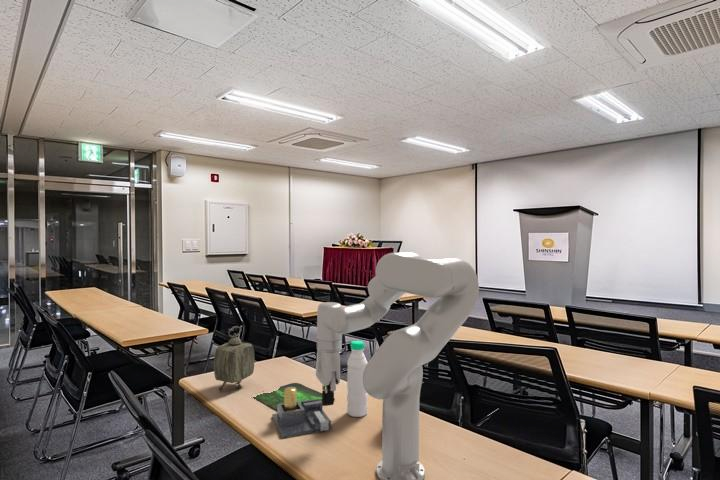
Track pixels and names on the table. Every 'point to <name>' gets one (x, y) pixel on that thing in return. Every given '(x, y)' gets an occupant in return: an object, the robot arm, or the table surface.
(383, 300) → the robot arm
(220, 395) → the table surface
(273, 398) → the mouse mat
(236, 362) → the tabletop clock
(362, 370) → the water bottle
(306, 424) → the dock
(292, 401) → the peg
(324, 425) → the lock pin
